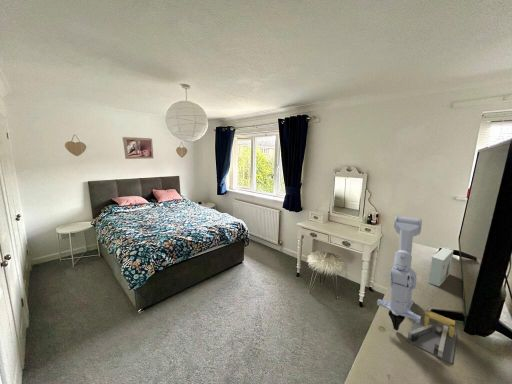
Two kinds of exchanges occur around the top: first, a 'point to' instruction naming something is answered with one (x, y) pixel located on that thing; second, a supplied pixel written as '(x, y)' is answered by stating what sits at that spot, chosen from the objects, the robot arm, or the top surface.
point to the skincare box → (440, 266)
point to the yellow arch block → (441, 319)
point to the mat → (434, 341)
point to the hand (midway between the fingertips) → (396, 328)
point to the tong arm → (419, 332)
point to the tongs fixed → (440, 348)
